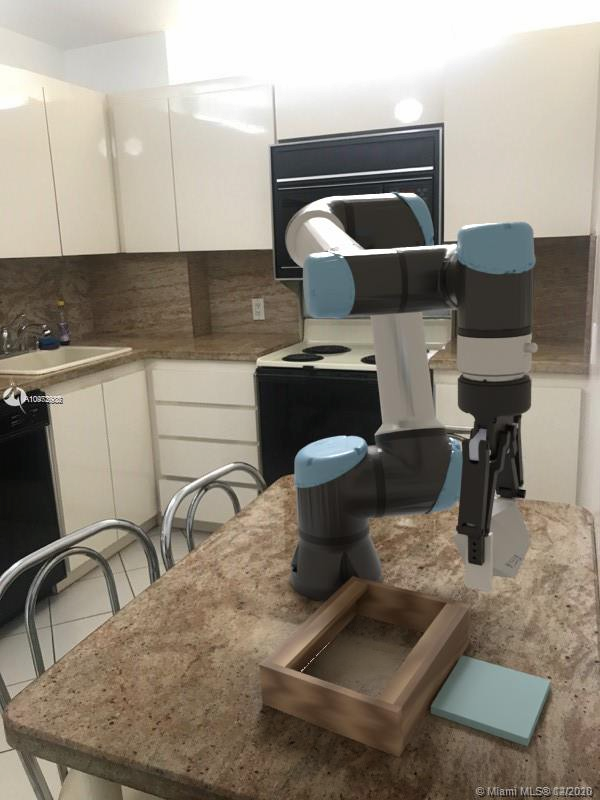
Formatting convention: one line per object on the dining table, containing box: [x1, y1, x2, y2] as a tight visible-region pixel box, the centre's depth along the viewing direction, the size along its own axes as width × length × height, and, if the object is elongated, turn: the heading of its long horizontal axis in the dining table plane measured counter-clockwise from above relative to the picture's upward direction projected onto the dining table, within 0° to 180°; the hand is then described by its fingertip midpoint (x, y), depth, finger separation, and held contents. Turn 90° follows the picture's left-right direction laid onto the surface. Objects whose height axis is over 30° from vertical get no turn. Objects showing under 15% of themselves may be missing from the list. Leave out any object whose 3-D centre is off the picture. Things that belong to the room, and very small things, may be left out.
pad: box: [430, 654, 552, 747], centre depth 79 cm, size 11×11×1 cm
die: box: [452, 502, 532, 579], centre depth 74 cm, size 8×9×10 cm
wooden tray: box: [258, 576, 472, 758], centre depth 85 cm, size 18×24×6 cm
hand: (492, 568), depth 75 cm, fingers closed on die, 9 cm apart
